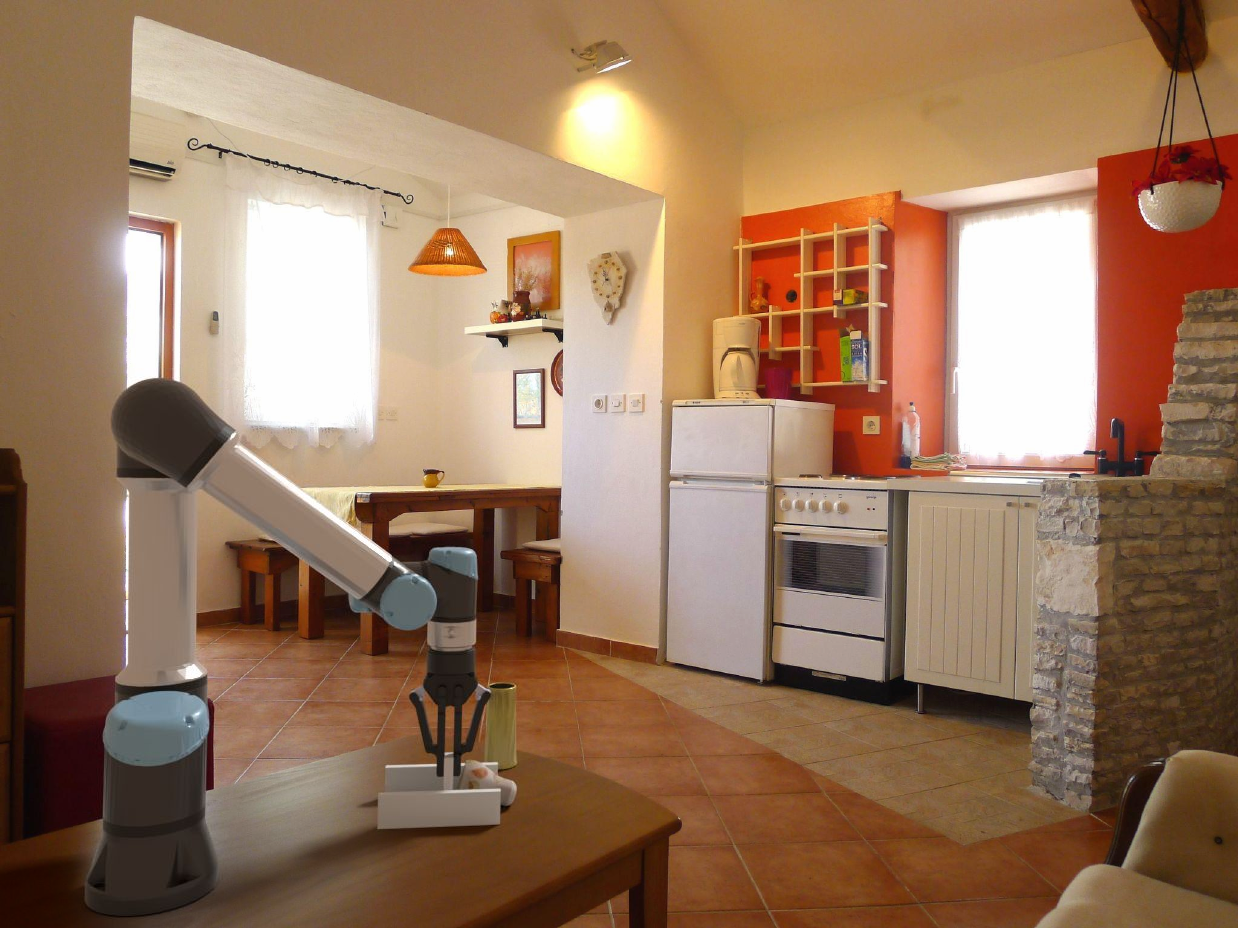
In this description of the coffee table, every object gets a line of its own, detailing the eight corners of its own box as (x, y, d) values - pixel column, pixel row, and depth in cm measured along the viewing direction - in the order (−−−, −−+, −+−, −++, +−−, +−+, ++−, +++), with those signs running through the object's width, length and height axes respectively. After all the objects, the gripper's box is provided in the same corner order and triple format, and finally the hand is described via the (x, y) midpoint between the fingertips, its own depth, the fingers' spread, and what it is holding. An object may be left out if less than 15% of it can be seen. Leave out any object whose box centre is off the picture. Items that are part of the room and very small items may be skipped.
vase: (478, 768, 165) (480, 688, 165) (488, 757, 171) (490, 680, 171) (511, 771, 164) (513, 690, 164) (520, 760, 170) (522, 682, 170)
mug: (521, 813, 145) (492, 762, 143) (466, 837, 146) (436, 787, 144) (525, 785, 152) (497, 736, 150) (472, 808, 153) (444, 760, 151)
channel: (377, 828, 137) (378, 795, 137) (385, 795, 151) (386, 765, 151) (499, 824, 140) (500, 791, 140) (496, 792, 154) (497, 762, 154)
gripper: (407, 651, 141) (404, 806, 141) (493, 650, 143) (490, 803, 143) (410, 641, 148) (407, 789, 148) (492, 641, 150) (489, 786, 151)
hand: (448, 796), depth 146 cm, fingers closed
